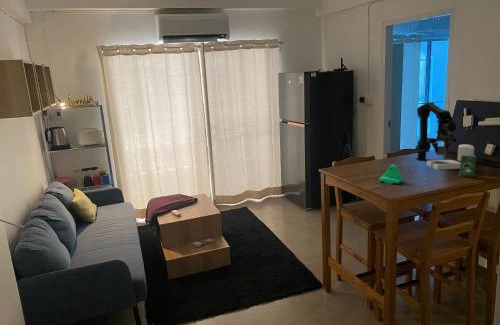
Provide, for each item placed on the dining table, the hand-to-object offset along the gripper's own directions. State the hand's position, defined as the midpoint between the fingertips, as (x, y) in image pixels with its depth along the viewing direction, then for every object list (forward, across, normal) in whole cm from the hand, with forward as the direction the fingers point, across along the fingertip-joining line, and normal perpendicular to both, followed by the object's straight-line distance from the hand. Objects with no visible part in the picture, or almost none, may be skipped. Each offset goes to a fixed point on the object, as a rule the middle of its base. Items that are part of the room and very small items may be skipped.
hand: (440, 152), depth 253 cm
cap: (+1, 0, 0) cm, 1 cm away
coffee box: (+10, +2, -26) cm, 28 cm away
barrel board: (+10, +4, 0) cm, 11 cm away
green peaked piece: (+10, -47, -30) cm, 56 cm away
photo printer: (+10, +26, +12) cm, 30 cm away
